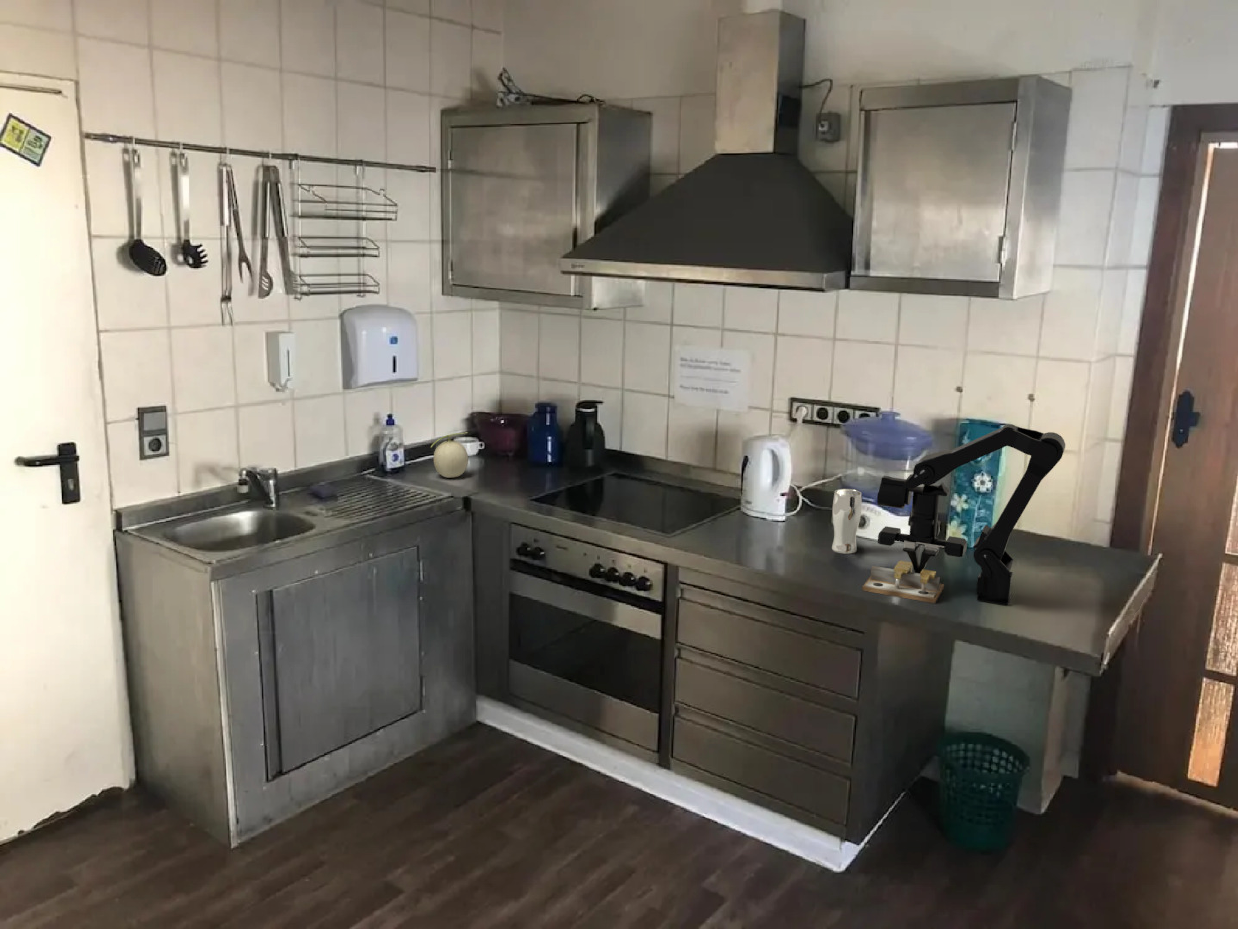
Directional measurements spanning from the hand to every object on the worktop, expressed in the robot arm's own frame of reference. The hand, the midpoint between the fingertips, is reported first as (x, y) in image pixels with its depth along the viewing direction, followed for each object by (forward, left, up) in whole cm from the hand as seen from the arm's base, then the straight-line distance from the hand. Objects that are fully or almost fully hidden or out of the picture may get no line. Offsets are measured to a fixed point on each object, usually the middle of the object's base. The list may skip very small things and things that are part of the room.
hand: (918, 577), depth 234 cm
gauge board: (+2, +4, -2) cm, 5 cm away
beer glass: (+21, -16, -2) cm, 27 cm away
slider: (+3, +3, -1) cm, 5 cm away
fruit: (+148, -24, -2) cm, 150 cm away
